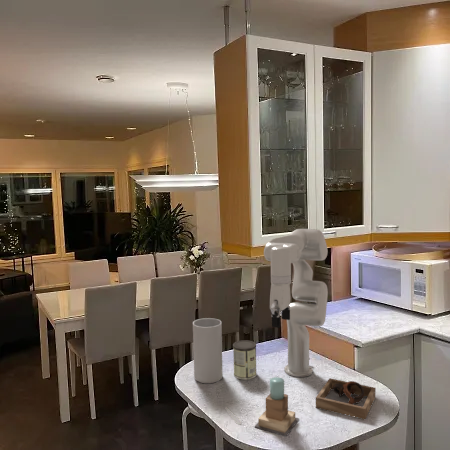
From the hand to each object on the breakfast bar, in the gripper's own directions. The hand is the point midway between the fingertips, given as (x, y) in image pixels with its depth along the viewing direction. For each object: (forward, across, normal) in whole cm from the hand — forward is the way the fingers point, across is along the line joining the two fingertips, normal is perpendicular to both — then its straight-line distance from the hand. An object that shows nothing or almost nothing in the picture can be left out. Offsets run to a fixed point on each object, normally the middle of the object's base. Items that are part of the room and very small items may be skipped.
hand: (281, 323), depth 169 cm
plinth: (+32, +14, +4) cm, 35 cm away
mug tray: (+32, -12, +22) cm, 41 cm away
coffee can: (+32, -16, -24) cm, 43 cm away
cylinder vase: (+32, -6, -37) cm, 50 cm away
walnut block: (+29, +14, +4) cm, 32 cm away
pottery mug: (+32, -15, +22) cm, 42 cm away
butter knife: (+33, +13, -18) cm, 40 cm away
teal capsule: (+22, +14, +4) cm, 26 cm away
